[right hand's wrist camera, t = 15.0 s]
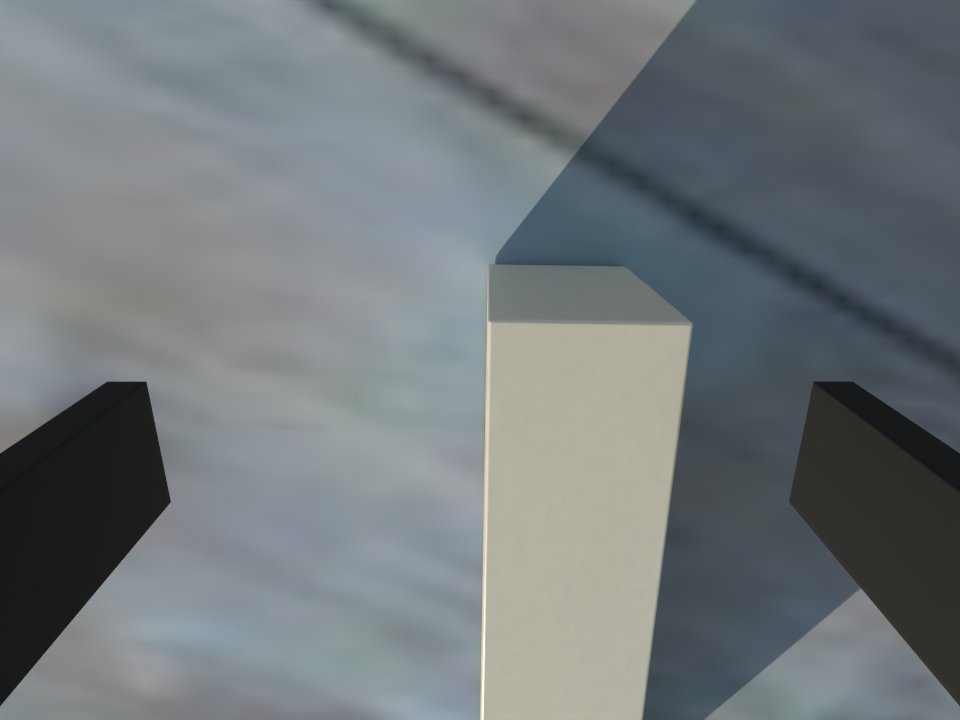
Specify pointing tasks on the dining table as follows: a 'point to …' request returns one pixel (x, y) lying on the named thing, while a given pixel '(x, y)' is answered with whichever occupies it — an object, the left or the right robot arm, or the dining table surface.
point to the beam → (576, 487)
